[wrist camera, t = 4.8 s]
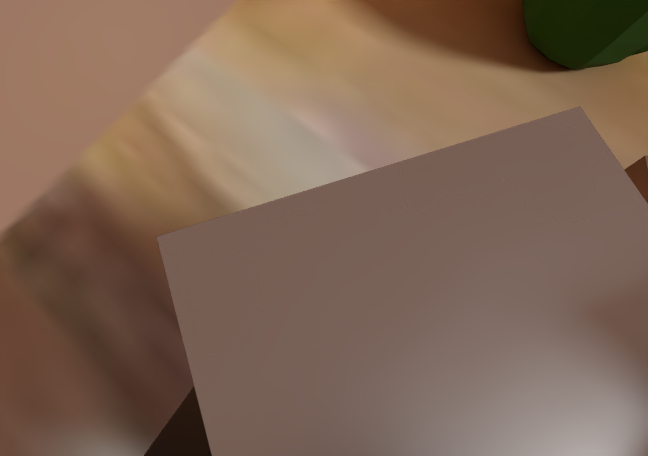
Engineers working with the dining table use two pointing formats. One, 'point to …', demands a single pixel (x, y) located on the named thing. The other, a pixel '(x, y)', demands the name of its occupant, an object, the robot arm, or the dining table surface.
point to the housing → (428, 306)
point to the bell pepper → (587, 30)
